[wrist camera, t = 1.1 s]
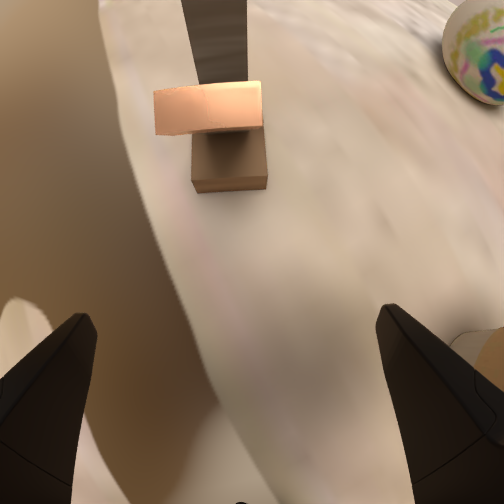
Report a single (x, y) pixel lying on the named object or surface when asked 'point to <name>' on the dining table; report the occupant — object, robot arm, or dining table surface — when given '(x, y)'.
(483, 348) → the coffee cup
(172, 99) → the block
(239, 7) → the stand
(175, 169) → the dining table surface
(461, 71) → the decorative egg
